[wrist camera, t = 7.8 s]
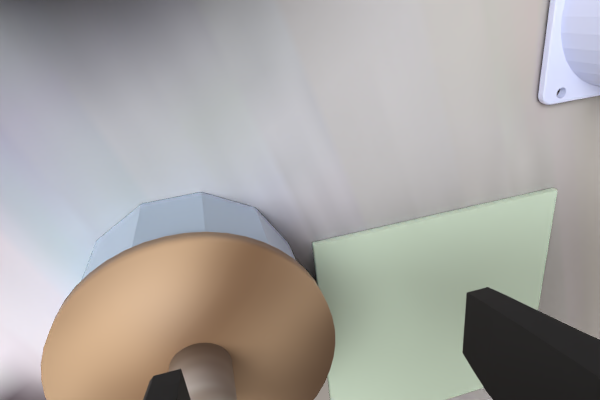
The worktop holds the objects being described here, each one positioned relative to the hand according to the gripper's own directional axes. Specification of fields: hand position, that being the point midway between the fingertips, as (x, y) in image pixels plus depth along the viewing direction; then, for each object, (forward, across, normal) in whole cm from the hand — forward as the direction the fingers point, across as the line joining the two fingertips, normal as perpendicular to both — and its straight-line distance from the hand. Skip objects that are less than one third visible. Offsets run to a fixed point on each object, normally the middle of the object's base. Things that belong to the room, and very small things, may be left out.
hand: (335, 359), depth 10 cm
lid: (+6, +4, +4) cm, 9 cm away
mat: (+10, -9, +10) cm, 17 cm away
